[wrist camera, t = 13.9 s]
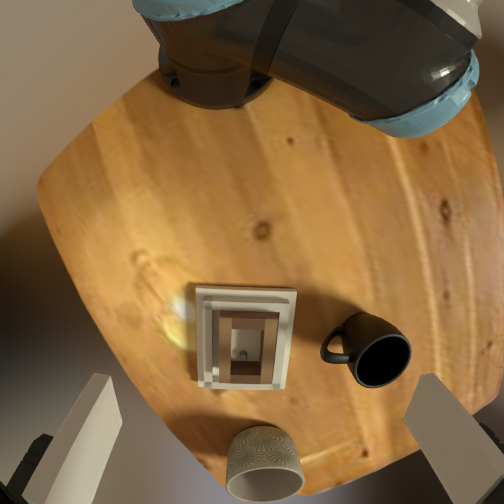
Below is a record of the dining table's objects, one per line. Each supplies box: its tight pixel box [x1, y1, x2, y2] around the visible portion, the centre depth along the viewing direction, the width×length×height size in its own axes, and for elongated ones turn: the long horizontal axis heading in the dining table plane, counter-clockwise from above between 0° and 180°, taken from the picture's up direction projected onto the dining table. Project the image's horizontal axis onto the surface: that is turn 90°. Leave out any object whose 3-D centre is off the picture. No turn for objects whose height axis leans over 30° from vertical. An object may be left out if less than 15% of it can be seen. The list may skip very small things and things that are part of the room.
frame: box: [219, 310, 278, 384], centre depth 39 cm, size 10×7×4 cm
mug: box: [320, 312, 412, 388], centre depth 38 cm, size 8×12×10 cm
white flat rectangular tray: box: [196, 285, 297, 390], centre depth 41 cm, size 16×13×3 cm
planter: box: [226, 426, 305, 503], centre depth 42 cm, size 12×12×11 cm
